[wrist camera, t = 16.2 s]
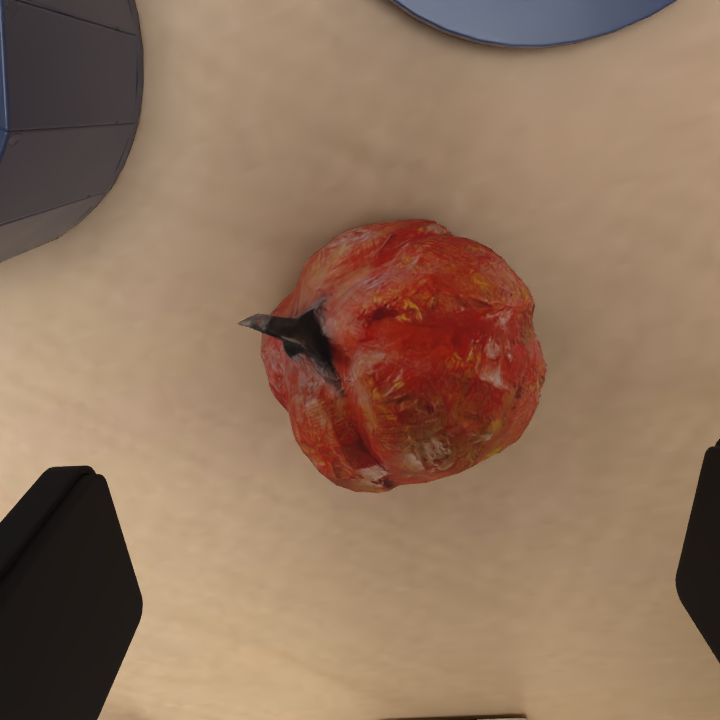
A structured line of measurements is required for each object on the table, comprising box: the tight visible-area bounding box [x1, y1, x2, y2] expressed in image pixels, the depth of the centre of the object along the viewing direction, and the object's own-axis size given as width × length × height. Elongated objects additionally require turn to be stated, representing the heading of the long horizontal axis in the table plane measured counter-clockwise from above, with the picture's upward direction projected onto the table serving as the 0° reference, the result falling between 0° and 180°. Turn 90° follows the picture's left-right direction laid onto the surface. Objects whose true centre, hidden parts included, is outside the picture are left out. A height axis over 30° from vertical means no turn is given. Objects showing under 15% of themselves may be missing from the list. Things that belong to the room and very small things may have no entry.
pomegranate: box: [238, 220, 546, 493], centre depth 16 cm, size 7×7×10 cm
